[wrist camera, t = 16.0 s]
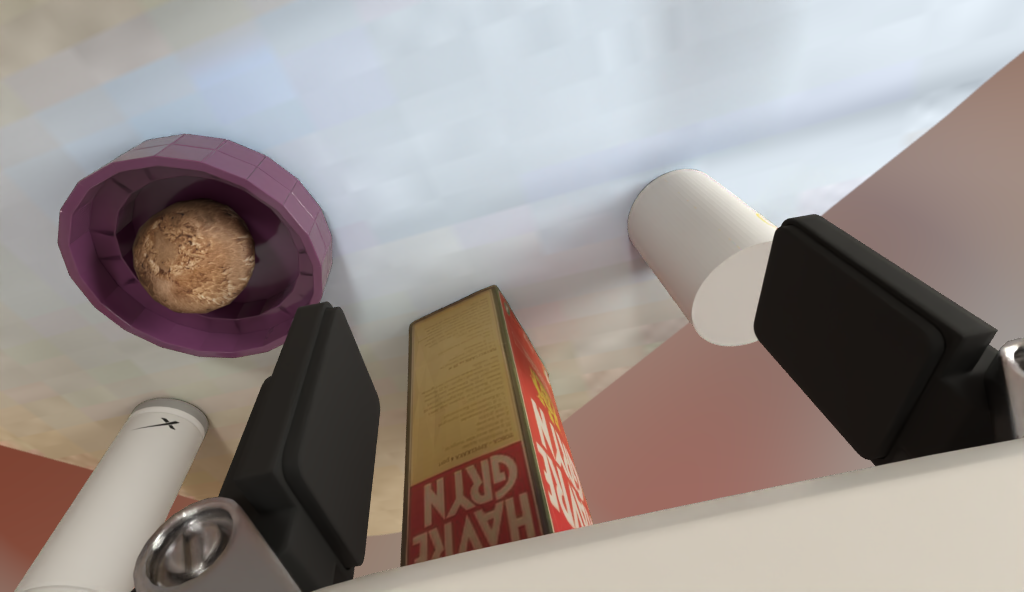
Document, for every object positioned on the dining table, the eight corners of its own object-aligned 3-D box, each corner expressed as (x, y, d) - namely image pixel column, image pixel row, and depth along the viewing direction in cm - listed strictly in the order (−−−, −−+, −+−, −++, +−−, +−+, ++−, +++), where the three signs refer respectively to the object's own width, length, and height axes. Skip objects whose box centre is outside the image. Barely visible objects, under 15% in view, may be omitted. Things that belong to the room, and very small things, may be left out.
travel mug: (173, 385, 43) (16, 645, 26) (224, 428, 46) (114, 678, 30) (113, 408, 43) (-78, 678, 27) (168, 449, 47) (30, 706, 31)
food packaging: (553, 375, 49) (643, 668, 28) (471, 410, 50) (502, 716, 30) (498, 280, 41) (567, 588, 21) (403, 324, 42) (381, 656, 22)
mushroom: (274, 321, 36) (208, 329, 29) (182, 299, 37) (100, 303, 31) (292, 215, 35) (228, 202, 29) (198, 197, 36) (118, 180, 30)
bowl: (51, 152, 31) (-7, 181, 27) (288, 114, 31) (267, 137, 27) (176, 332, 39) (147, 374, 35) (358, 299, 40) (351, 337, 36)
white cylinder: (716, 247, 42) (802, 331, 33) (628, 266, 42) (688, 357, 33) (726, 159, 38) (829, 227, 28) (626, 180, 38) (695, 257, 28)
